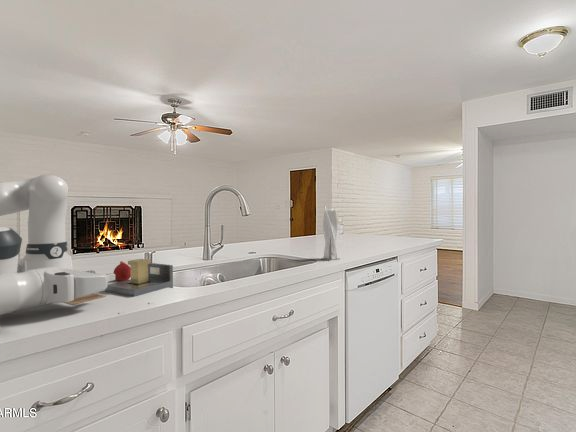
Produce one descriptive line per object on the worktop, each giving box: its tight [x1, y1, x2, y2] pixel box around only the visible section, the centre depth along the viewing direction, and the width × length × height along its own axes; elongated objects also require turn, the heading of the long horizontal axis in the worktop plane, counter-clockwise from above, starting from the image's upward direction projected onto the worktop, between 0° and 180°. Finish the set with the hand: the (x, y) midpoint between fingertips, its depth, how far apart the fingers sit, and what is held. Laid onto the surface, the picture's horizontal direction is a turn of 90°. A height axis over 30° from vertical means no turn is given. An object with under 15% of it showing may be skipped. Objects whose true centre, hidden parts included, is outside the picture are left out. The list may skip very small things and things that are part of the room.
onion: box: [112, 260, 131, 282], centre depth 111 cm, size 6×6×8 cm
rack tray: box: [104, 262, 174, 297], centre depth 99 cm, size 14×14×8 cm
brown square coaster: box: [65, 293, 107, 306], centre depth 88 cm, size 9×9×1 cm
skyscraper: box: [320, 205, 341, 261], centre depth 163 cm, size 8×8×28 cm
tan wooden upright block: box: [127, 258, 151, 286], centre depth 99 cm, size 5×5×10 cm
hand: (103, 274), depth 89 cm, fingers open, 8 cm apart
